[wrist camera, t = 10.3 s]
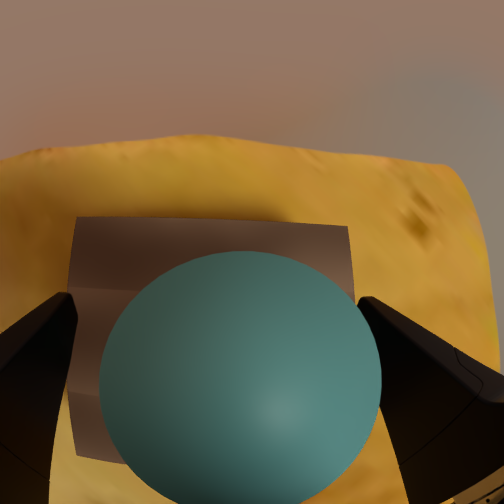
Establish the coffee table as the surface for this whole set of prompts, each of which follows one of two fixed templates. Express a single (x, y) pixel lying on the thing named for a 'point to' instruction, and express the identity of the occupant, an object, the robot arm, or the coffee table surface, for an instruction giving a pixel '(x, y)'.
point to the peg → (240, 381)
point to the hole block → (151, 267)
